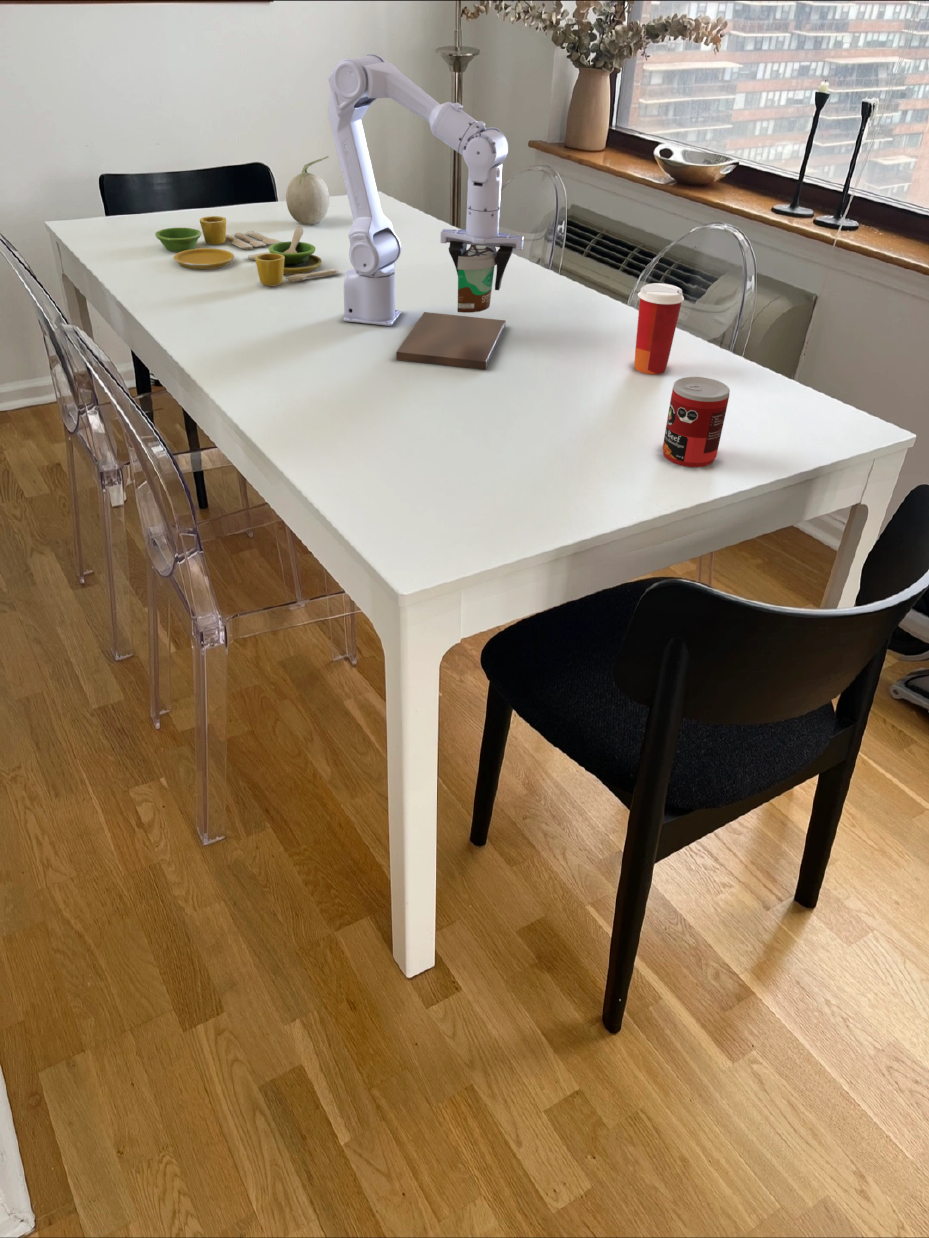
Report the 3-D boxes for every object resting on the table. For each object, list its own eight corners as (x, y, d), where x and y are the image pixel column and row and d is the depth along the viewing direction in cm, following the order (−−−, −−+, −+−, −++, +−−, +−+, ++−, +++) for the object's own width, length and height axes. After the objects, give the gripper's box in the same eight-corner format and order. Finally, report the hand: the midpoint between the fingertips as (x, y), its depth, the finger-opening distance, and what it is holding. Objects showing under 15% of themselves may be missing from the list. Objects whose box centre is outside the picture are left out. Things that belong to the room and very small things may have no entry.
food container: (489, 318, 174) (492, 260, 168) (455, 314, 175) (457, 257, 169) (501, 297, 184) (504, 242, 178) (469, 294, 184) (471, 239, 179)
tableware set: (345, 276, 210) (344, 246, 206) (227, 297, 196) (224, 265, 192) (254, 231, 236) (252, 203, 232) (144, 247, 222) (139, 218, 218)
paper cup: (674, 364, 176) (688, 286, 168) (667, 379, 170) (681, 299, 162) (632, 357, 178) (643, 279, 170) (623, 372, 172) (634, 292, 164)
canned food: (656, 445, 148) (667, 376, 142) (707, 445, 149) (721, 376, 143) (668, 468, 142) (681, 397, 136) (722, 468, 143) (737, 397, 137)
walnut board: (396, 360, 172) (396, 351, 172) (424, 319, 190) (424, 312, 189) (485, 370, 170) (486, 361, 169) (505, 328, 188) (505, 320, 187)
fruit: (281, 228, 240) (276, 161, 231) (295, 216, 249) (291, 152, 240) (322, 231, 238) (319, 165, 230) (335, 220, 248) (332, 155, 239)
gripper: (437, 209, 167) (435, 289, 175) (521, 216, 165) (515, 297, 173) (445, 200, 173) (443, 278, 181) (527, 207, 171) (521, 285, 179)
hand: (479, 287), depth 177 cm, fingers closed on food container, 6 cm apart
